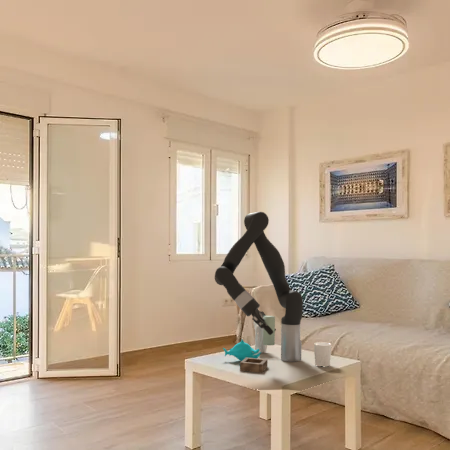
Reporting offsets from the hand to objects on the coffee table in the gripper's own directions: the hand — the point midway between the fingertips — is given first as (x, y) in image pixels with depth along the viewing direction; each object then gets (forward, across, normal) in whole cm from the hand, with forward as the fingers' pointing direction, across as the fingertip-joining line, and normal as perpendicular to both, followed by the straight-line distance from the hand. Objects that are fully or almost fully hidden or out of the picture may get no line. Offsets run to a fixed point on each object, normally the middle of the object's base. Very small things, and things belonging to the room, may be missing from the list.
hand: (273, 332), depth 208 cm
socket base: (+6, +3, +19) cm, 20 cm away
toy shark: (0, +15, +25) cm, 29 cm away
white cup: (+26, +20, -2) cm, 33 cm away
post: (+2, 0, +5) cm, 5 cm away
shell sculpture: (+3, +38, +22) cm, 43 cm away
